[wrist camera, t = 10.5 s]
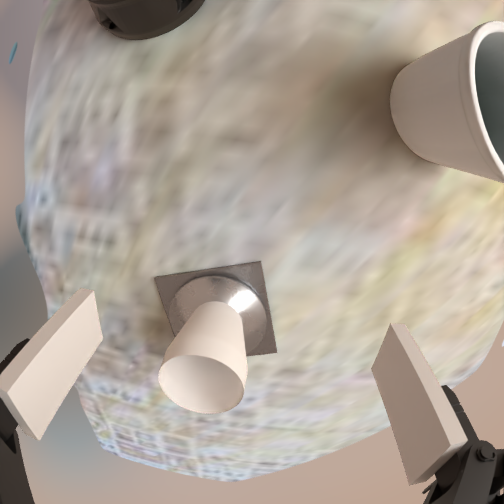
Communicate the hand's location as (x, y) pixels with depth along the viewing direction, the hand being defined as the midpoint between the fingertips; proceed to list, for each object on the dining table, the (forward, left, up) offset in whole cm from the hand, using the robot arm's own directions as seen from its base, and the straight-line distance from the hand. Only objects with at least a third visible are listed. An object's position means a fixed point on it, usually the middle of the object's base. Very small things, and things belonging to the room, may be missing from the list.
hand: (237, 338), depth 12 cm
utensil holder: (-10, +25, -24) cm, 36 cm away
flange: (+13, -7, -24) cm, 29 cm away
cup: (+13, -7, -23) cm, 27 cm away
